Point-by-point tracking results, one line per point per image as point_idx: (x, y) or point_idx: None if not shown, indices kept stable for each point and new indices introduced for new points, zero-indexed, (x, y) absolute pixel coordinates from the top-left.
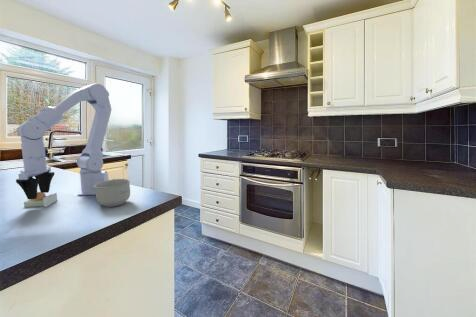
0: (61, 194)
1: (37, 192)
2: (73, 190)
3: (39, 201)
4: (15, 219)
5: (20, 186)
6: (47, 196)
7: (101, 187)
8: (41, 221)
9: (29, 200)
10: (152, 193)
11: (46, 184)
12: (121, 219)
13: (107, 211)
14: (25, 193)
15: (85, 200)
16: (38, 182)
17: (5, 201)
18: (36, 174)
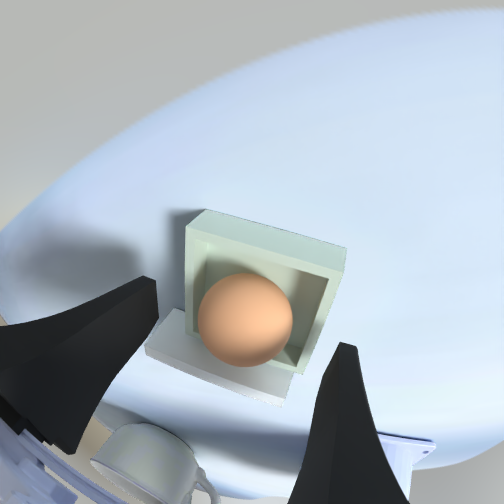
0: (453, 371)
1: (222, 347)
2: (497, 404)
3: (185, 310)
4: (49, 226)
5: (30, 321)
6: (181, 365)
7: (90, 461)
8: (46, 298)
9: (244, 250)
10: (240, 493)
11: (312, 441)
12: None
13: (111, 409)
14: (100, 298)
15: (232, 423)
16: (84, 425)
17: (484, 16)
18: (66, 487)
